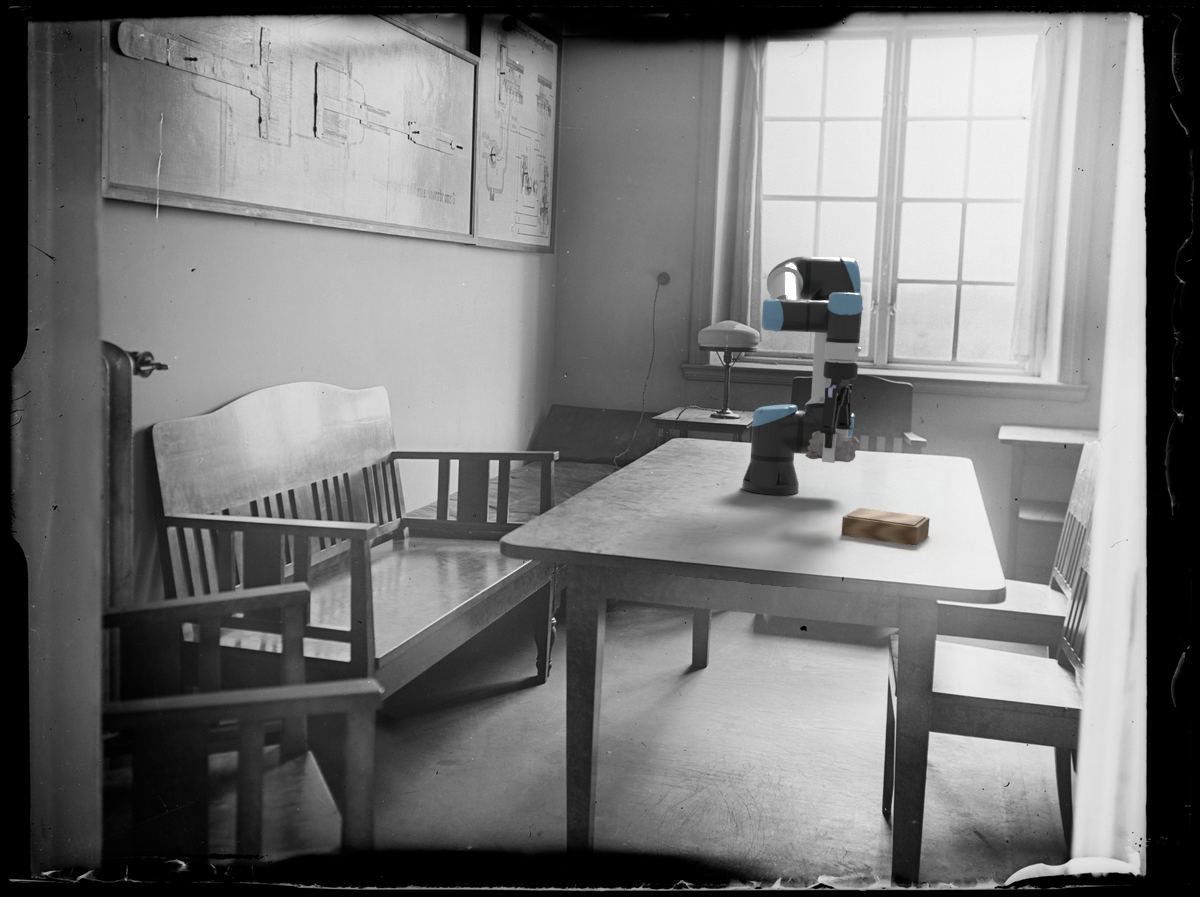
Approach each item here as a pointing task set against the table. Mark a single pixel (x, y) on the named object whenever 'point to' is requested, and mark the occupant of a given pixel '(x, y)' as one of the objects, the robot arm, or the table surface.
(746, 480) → the robot arm
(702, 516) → the table surface
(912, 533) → the walnut slab
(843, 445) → the stone
